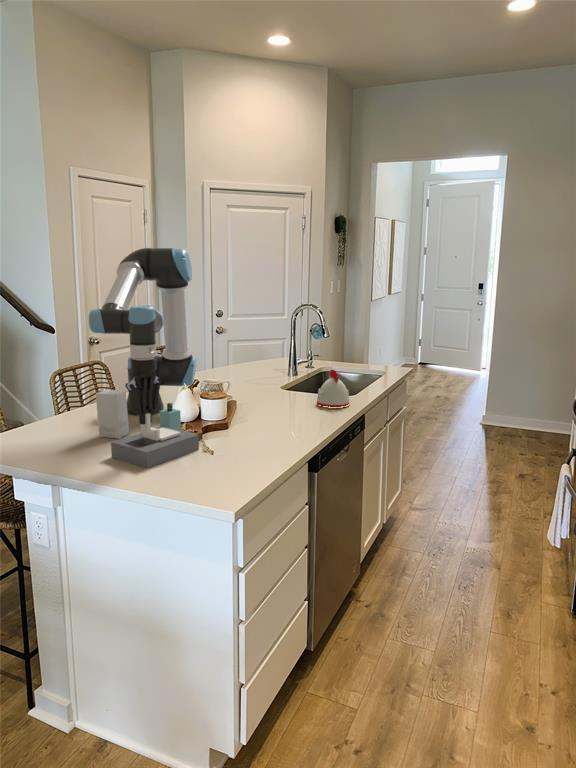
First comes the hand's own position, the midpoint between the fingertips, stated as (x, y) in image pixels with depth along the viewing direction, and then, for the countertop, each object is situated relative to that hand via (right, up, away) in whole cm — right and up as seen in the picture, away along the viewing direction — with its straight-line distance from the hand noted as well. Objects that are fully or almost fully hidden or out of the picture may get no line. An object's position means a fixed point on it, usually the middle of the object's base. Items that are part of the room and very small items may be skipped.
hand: (146, 433), depth 181 cm
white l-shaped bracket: (+3, -1, +6) cm, 7 cm away
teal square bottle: (+3, -3, +23) cm, 24 cm away
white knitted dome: (+63, +6, +70) cm, 95 cm away
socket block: (+2, -7, +5) cm, 9 cm away
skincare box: (-17, -3, +22) cm, 28 cm away
